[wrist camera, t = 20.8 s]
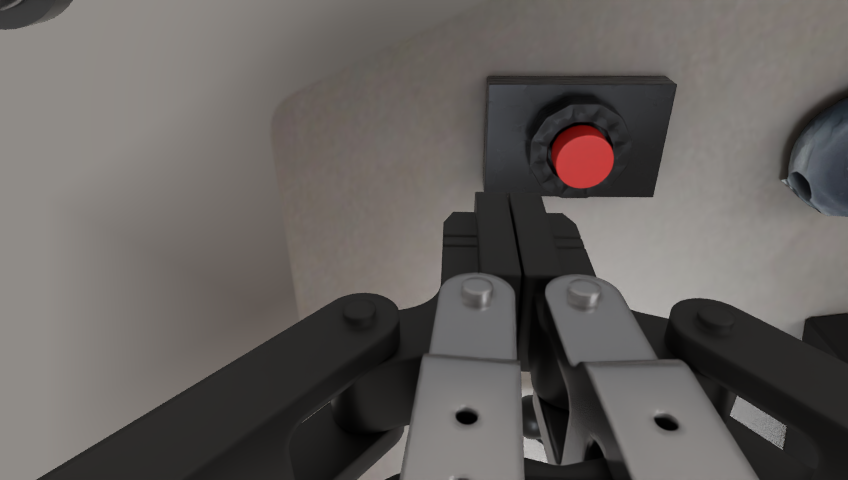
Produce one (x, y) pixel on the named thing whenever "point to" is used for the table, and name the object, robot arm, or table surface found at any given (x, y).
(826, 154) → the electronic device
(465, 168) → the table surface
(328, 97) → the table surface
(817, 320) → the headphone box
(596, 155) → the button
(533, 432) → the lever
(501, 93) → the red push button panel
